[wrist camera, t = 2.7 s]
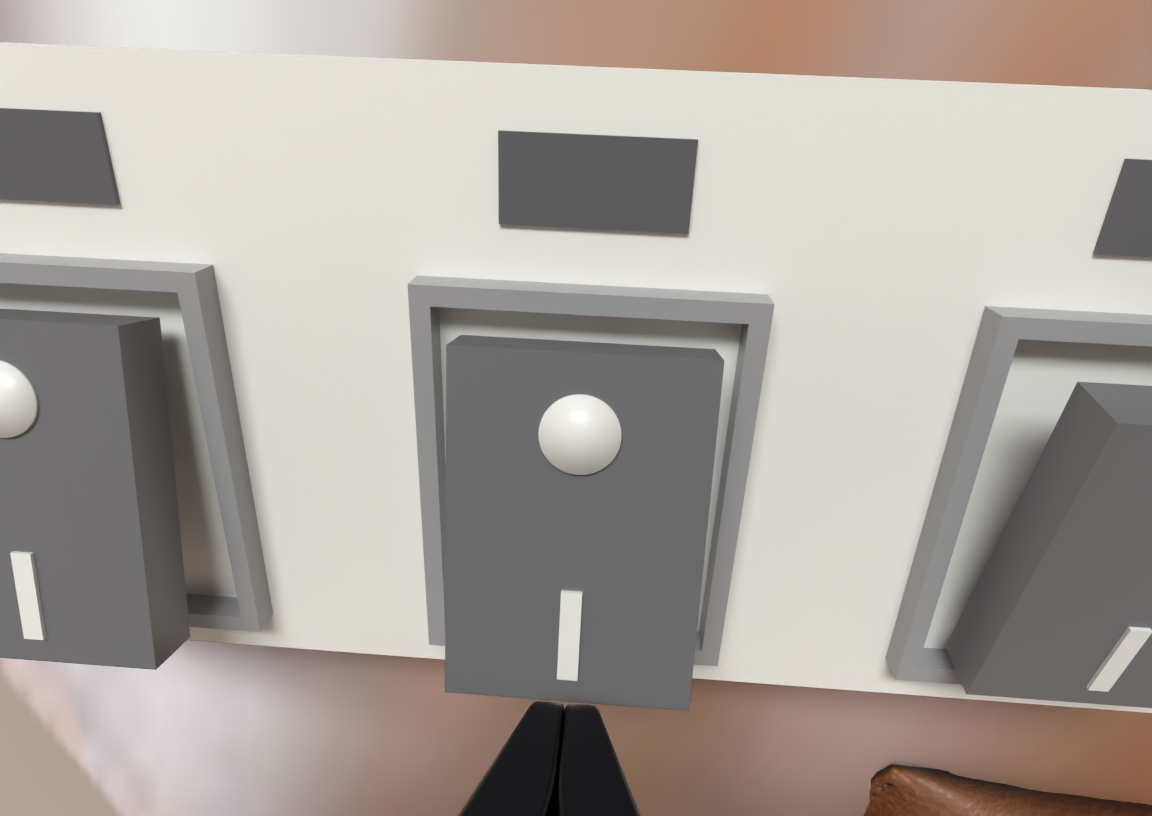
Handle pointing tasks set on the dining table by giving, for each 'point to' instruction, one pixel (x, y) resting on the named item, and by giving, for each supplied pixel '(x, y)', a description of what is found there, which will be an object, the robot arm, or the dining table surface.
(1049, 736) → the dining table surface
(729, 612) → the power strip
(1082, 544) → the rocker
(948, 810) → the sunglasses case
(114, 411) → the rocker
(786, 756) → the dining table surface
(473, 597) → the rocker middle
